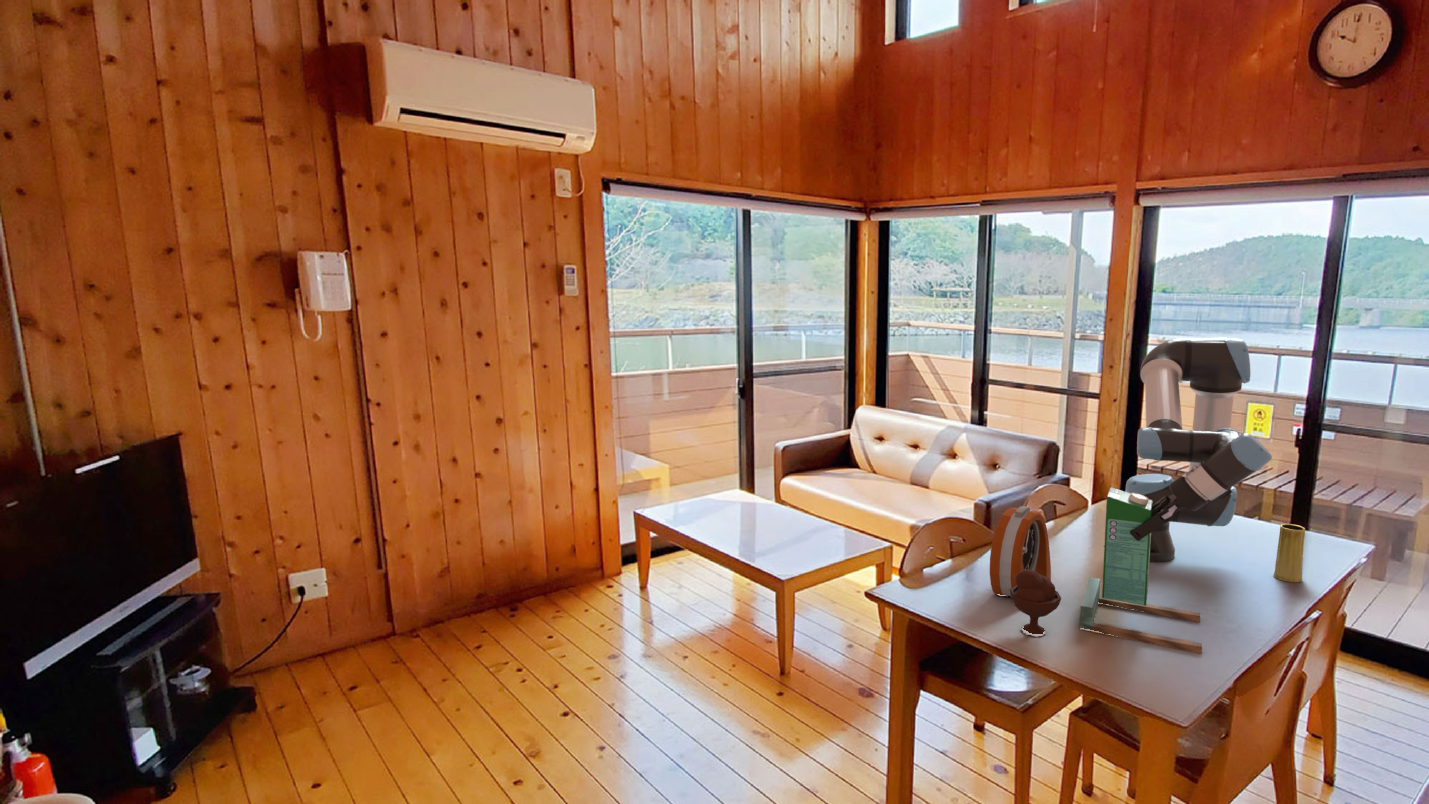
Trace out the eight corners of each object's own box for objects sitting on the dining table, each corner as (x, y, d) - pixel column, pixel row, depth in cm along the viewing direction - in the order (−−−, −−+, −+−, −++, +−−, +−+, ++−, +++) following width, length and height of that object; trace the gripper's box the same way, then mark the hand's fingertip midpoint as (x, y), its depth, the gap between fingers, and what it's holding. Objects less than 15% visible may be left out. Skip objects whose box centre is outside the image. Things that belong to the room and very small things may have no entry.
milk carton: (1146, 605, 169) (1152, 500, 165) (1101, 598, 174) (1106, 495, 170) (1147, 591, 177) (1153, 490, 173) (1105, 584, 182) (1109, 486, 178)
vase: (1307, 583, 194) (1312, 531, 191) (1280, 582, 195) (1285, 530, 193) (1294, 574, 200) (1299, 523, 197) (1268, 573, 201) (1273, 522, 199)
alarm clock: (1026, 609, 185) (1029, 522, 181) (987, 599, 191) (989, 515, 188) (1056, 581, 201) (1059, 501, 197) (1019, 573, 207) (1022, 495, 204)
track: (1199, 618, 176) (1201, 595, 175) (1201, 653, 161) (1203, 627, 160) (1087, 599, 189) (1088, 577, 188) (1079, 629, 173) (1080, 605, 172)
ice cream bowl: (1035, 646, 166) (1037, 583, 164) (998, 626, 176) (1000, 566, 174) (1069, 636, 170) (1072, 574, 168) (1031, 617, 180) (1033, 558, 178)
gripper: (1182, 467, 172) (1100, 525, 184) (1183, 484, 158) (1093, 546, 170) (1208, 491, 171) (1123, 548, 182) (1211, 511, 156) (1118, 572, 168)
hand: (1109, 547), depth 176 cm, fingers open, 4 cm apart
